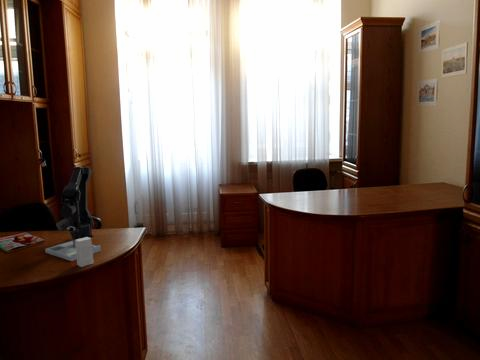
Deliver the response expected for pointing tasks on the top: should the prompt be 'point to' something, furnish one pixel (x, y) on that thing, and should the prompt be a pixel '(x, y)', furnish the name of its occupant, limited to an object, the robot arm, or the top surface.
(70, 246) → the board
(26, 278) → the top surface
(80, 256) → the skincare box
